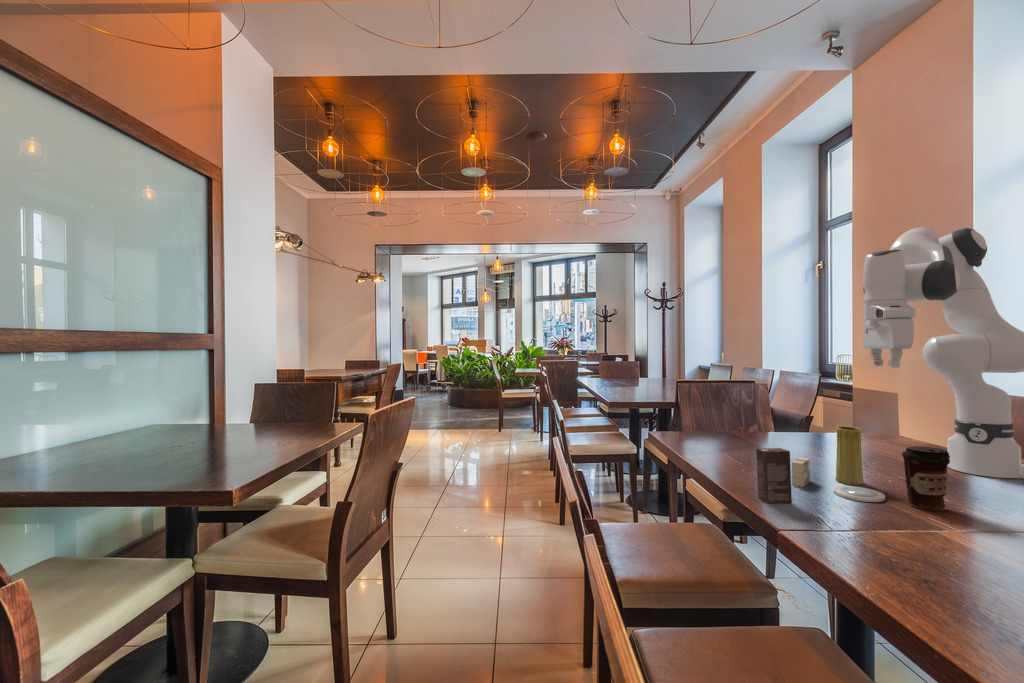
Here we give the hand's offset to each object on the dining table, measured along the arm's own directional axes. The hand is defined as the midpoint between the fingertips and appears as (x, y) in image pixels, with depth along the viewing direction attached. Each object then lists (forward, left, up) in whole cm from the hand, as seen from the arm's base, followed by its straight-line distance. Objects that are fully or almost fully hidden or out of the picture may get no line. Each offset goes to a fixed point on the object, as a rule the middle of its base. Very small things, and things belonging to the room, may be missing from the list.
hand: (885, 366), depth 121 cm
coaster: (+14, -2, -31) cm, 34 cm away
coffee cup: (+11, +10, -31) cm, 34 cm away
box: (+34, -12, -31) cm, 47 cm away
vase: (+3, -8, -31) cm, 32 cm away
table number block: (+14, -15, -31) cm, 37 cm away
